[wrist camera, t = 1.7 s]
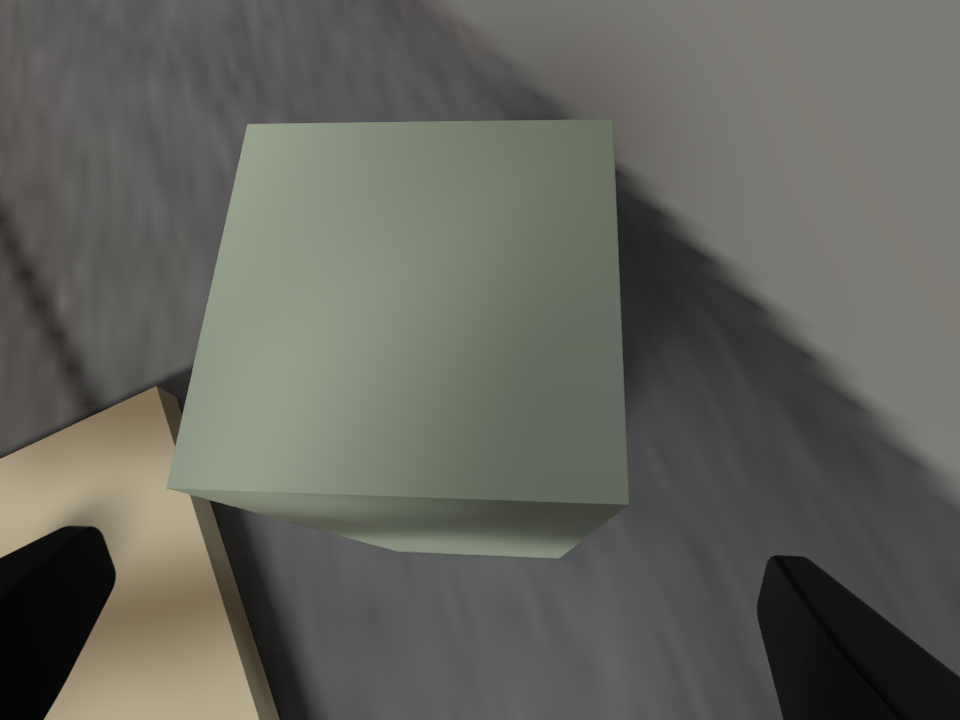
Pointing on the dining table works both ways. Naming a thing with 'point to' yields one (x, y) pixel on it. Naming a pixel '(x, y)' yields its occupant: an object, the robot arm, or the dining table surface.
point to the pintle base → (140, 571)
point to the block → (416, 337)
